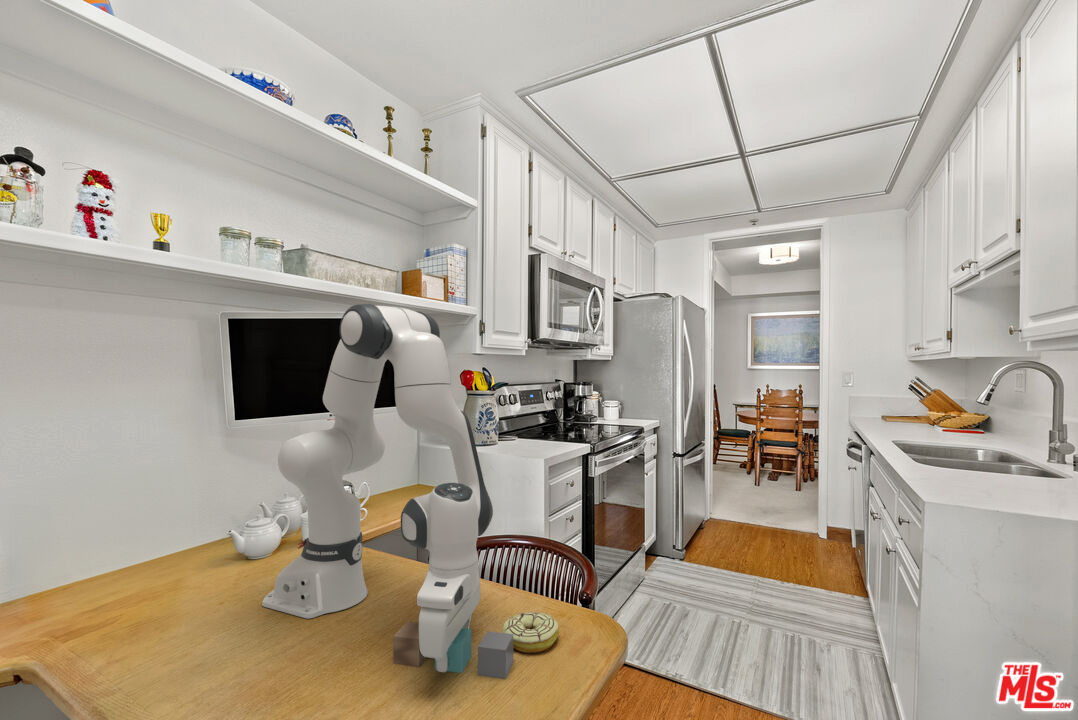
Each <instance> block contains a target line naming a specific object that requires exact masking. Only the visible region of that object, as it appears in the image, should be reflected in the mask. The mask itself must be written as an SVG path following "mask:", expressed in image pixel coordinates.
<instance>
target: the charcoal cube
mask: <svg viewBox="0 0 1078 720" xmlns="http://www.w3.org/2000/svg"><path fill="white" fill-rule="evenodd" d="M513 663H514V648H513V634H507V633H503V632H497V631H489V630H488V631H487V630H486V632H485V634H484V636H483V638H482V639H481V641H480V642H479V644H478V645H477V676H480V677H488V678H495V679H503V680H507V678H508V675H509V674H510V670H511V668H512V665H513Z"/></svg>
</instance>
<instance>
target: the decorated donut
mask: <svg viewBox="0 0 1078 720" xmlns="http://www.w3.org/2000/svg"><path fill="white" fill-rule="evenodd" d="M559 632H560V631H559V623H558V621H557V620H556V619H555V617H553V616H551V615H549V614H547V613H542V612H537V611H535V612H534V611H533V612H531V611H529V612H521V613H519V614H515V615H513V616H512V617H509V618H508V619H507V620H506V621H505V622H504V624H503V626H502V633H507V634H513V649H515V650H516V651H518V652H521V653H526V654H528V653H529V654H532V653H533V654H534V653H541V652H544V651H547V650H549V648H551V647H553V645H554V643H555V642H556V641H557V639H558V637H559Z"/></svg>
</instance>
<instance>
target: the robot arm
mask: <svg viewBox="0 0 1078 720" xmlns="http://www.w3.org/2000/svg"><path fill="white" fill-rule="evenodd" d="M440 334H441V333H440V326H439V325H438V322H437V321H436V320H435V318H433V317H432V316H430V315H429V314H426V313H424V312H422V311H415V310H412V309H408V308H405V307H400V306H388V305H376V304H373V303H359V304H354V305H351V306H349V307H348V308H347V309H346V310H345V312H344V314H343V315H342V317H341V319H340V324H339V337H340V339H339V341H338V344H337V347H336V349H335V351H334V354H333V356H332V360H331V364H330V366H329V370H328V374H327V378H326V382H325V387H324V391H323V394H322V403H323V405H324V406H325V408H326V409H327V411H329V412H330V413H331V414H332V415H334V424H333V427H332V428H330V429H322V430H315V431H310V432H309V431H308V432H305V433H303V434H300V435H297V436H295V437H294V436H293V437H292V438H290V439H288V440H286V441H285V442H284V443H283V444H282V446H281V447H280V450H279V452H278V456H277V465H278V469H279V471H280V473H281V475H282V476H283V478H285V480H286V481H288V482H290V483H292V484H293V485H295V486H296V488H298V490H299V491H300V492H301V494H302V495H303V498H304V501H305V503H306V509H307V520H308V521H307V523H308V537H307V538H305V539H304V540H302V541H301V542H299V543H297V546H298V547H297V549H298V550H299V549H301V548H302V551H301V553H300V555H298V557H296V558H295V559H294V560H292V561H291V562H290V563H288V565H287V566H285V567H284V568H282V570H280V571H279V572H278V575H277V576H276V579H275V583H274V588H273V590H271V591H269V592H268V594H266V595H265V596H264V598H263V600H262V601H261V602H262V603H261V606H262V607H264V608H268V609H271V610H275V611H279V612H282V613H286V614H289V615H292V616H296V617H299V618H304V619H314V618H316V617H319V616H322V615H325V614H330V613H335V612H340V611H342V610H346V609H349V608H352V607H354V606H355V605H358V604H359V603H361V602H362V601H363V600H364V599H365V598H366V597H367V596H368V592H369V591H368V588H367V586H366V580H365V578H364V571H363V563H362V556H363V532H362V531H361V501H360V499H359V498H358V496H357V495H355V494H353V493H352V492H350V491H347V490H346V488H345V485H344V482H343V481H344V480H343V477H344V476H346V475H349V474H353V473H357V472H361V471H364V470H365V469H367V468H370V467H372V466H373V465H375V464H377V463H378V462H380V460H381V459H383V456H384V453H385V440H384V437H383V435H382V434H381V431H379V430H378V429H377V426H376V425H375V421H374V412H375V411H374V409H375V404H376V399H377V395H378V391H379V387H380V383H381V378H382V376H383V371H384V367H385V365H386V364H385V363H386V362H387V360H388V361H389V362H390V363H391V364H392V367H393V372H394V374H393V375H394V379H393V380H394V401H395V408H396V411H397V415H398V416H399V418H400V419H401V421H402V422H404V424H406V425H407V426H408V427H410V428H411V429H413V430H415V431H417V432H419V433H422V434H427V435H429V436H432V437H436V438H438V439H440V440H441V441H444V443H446V444H447V446H448V447H449V450H450V452H451V456H452V459H453V460H452V461H453V465H454V469H455V473H456V477H457V479H456V480H457V482H445V483H441V484H439V485H437V486H435V487H434V488H433V489H432V490H431V492H430V493H427V494H423V495H420V496H416V497H413V498H411V499H409V500H408V501H407V502H406V504H405V505H404V507H403V509H402V512H401V514H400V531H401V536H402V538H403V540H404V541H405V542H407V543H408V544H409V545H411V546H412V547H414V548H416V549H419V550H425V549H426V550H427V551H428V552H429V559H428V570H427V572H426V576H425V579H424V581H423V584H422V586H421V587H420V589H419V590H418V593H417V595H416V596H417V597H416V604H417V606H418V607H421V608H420V611H419V613H418V623H419V647H420V652H421V654H422V655H423V656H424V657H426V658H429V659H430V658H431V659H434V660H435V659H436V661H437V670H436V671H437V672H439V673H440V672H441V673H446V672H448V671H447V669H448V667H449V665H450V663H449V662H450V657H447V651H448V648H449V646H450V645H451V643H452V642H453V641H454V639H455V638H456V636H457V635H458V633H459V632H460V630H461V629H462V628H464V629H470V625H471V620H472V614H473V613H474V612H475V610H476V609H477V606H479V604H480V601H481V578H480V576H481V575H480V570H479V554H478V550H477V541H478V537H481V536H482V535H483V534H484V533H485V532H486V530H487V529H488V527H489V526H490V524H491V522H492V519H493V516H494V510H493V503H492V501H491V498H490V495H489V493H488V490H487V487H486V485H485V480H484V476H483V472H482V468H481V467H482V466H481V463H480V460H479V459H480V458H479V455H478V450H477V445H476V442H475V441H476V440H475V437H474V433H473V429H472V427H471V422H470V420H469V417H468V416H467V414H466V413H465V412H464V411H463V410H461V409H460V408H459V407H458V405H457V403H456V401H455V399H454V395H453V392H452V385H451V384H452V383H451V382H452V381H451V373H450V368H449V367H450V366H449V361H448V357H447V352H446V349H445V346H444V345H445V344H444V343H443V341H442V339H441V338H440V337H441V335H440Z"/></svg>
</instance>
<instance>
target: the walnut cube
mask: <svg viewBox="0 0 1078 720" xmlns="http://www.w3.org/2000/svg"><path fill="white" fill-rule="evenodd" d="M392 640H393V643H392V645H393V646H392V647H393V649H392V650H393V652H392V653H393V659H392V660H393V662H392V664H394V665H402V666H408V667H416V668H420V667H421V665H422V664H423V663H424V661H425V660H426V659H427V657H424V656H423V655H422V654H421V652H420V647H419V622H413V621H406V622H405V623H404V624H403V625H402V626H401V627H400V628H399V629H398V630H397V631H396V633H394V635H393V637H392Z"/></svg>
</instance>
